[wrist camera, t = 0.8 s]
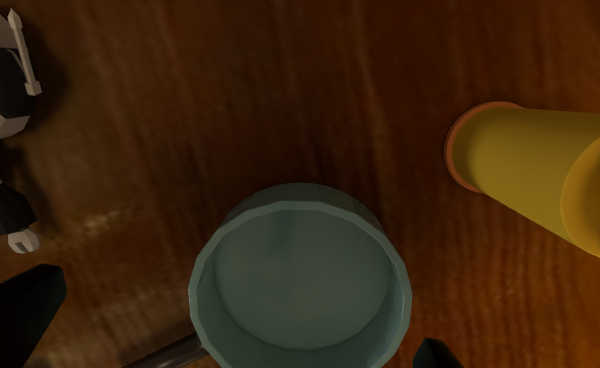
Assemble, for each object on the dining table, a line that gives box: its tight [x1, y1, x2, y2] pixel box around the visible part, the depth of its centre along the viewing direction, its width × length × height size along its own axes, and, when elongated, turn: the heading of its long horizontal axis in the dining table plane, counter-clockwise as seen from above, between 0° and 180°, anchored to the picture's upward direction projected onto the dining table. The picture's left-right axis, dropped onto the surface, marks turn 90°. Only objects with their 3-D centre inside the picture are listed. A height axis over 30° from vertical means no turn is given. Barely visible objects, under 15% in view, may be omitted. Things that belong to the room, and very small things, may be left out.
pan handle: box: [122, 332, 210, 368], centre depth 23 cm, size 10×2×2 cm, turn 119°
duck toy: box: [443, 101, 600, 257], centre depth 14 cm, size 6×6×14 cm
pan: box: [188, 183, 413, 368], centre depth 22 cm, size 13×13×4 cm
